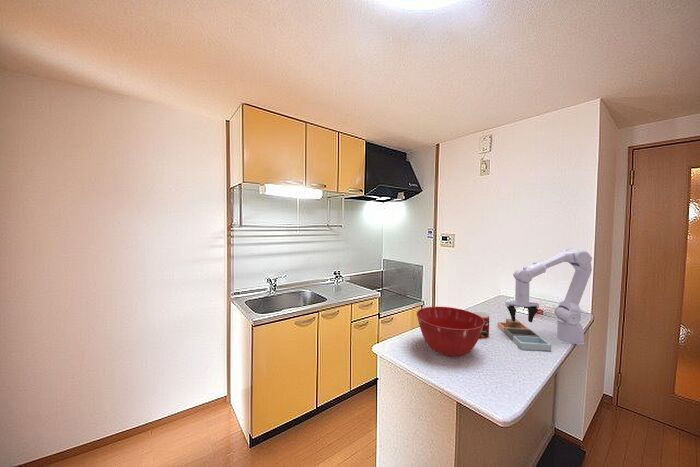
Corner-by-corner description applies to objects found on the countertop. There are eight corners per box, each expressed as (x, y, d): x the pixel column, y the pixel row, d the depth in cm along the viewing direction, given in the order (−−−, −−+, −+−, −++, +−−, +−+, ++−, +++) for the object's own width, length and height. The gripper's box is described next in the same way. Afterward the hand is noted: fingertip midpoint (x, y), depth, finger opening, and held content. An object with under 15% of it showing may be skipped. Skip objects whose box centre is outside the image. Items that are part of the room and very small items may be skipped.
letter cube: (515, 328, 142) (516, 319, 141) (520, 332, 137) (520, 322, 136) (505, 327, 142) (506, 318, 142) (510, 331, 137) (510, 321, 137)
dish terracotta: (521, 328, 143) (521, 323, 143) (529, 334, 135) (529, 329, 134) (497, 327, 144) (497, 321, 144) (503, 333, 136) (503, 327, 136)
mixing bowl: (486, 344, 123) (486, 312, 123) (481, 374, 99) (482, 333, 98) (425, 332, 138) (425, 303, 137) (407, 355, 113) (408, 320, 113)
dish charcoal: (530, 335, 134) (530, 329, 134) (539, 342, 126) (539, 336, 126) (504, 334, 136) (504, 328, 135) (511, 341, 127) (511, 334, 127)
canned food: (471, 337, 132) (471, 315, 131) (472, 331, 139) (472, 310, 138) (489, 340, 128) (489, 318, 128) (489, 334, 135) (489, 313, 135)
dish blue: (540, 343, 125) (540, 337, 125) (551, 351, 117) (551, 344, 117) (512, 341, 127) (512, 335, 127) (521, 349, 119) (521, 343, 118)
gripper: (534, 292, 133) (533, 319, 133) (502, 291, 135) (502, 317, 135) (542, 296, 126) (541, 324, 126) (509, 294, 128) (508, 322, 128)
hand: (521, 321), depth 130 cm, fingers open, 7 cm apart
